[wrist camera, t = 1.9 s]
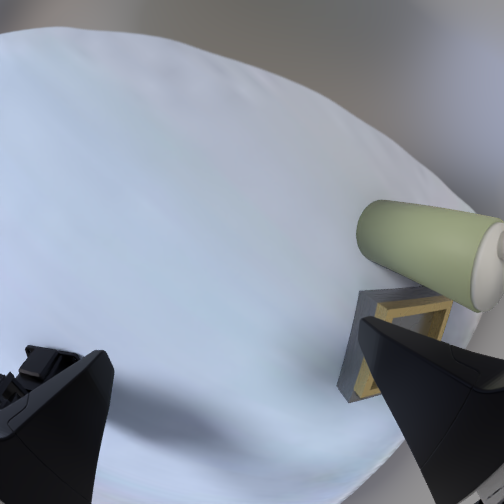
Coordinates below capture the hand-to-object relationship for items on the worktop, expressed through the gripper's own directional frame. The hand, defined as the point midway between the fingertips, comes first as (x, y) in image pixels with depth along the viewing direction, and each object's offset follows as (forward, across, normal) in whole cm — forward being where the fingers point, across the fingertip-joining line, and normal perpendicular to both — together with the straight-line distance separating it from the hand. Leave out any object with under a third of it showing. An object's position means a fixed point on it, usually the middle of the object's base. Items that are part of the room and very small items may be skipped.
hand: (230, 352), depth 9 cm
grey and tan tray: (+13, -15, +12) cm, 24 cm away
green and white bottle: (+14, -13, +1) cm, 19 cm away
